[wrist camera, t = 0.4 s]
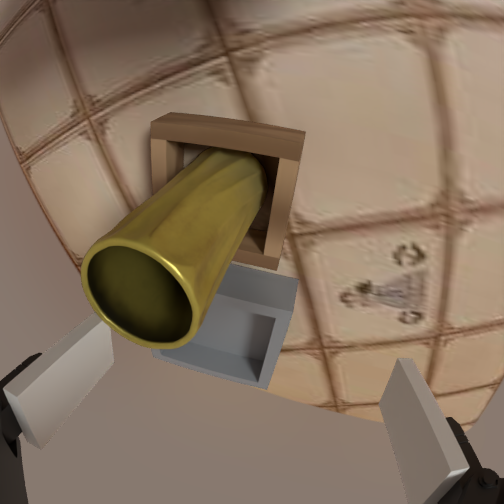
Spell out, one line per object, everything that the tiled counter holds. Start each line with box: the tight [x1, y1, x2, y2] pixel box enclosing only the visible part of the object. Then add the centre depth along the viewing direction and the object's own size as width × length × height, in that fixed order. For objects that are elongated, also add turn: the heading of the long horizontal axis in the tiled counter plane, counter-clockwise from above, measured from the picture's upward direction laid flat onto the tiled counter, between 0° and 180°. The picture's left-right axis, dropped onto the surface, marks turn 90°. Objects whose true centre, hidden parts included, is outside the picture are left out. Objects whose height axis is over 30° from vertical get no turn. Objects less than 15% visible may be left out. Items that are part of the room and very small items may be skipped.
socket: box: [151, 112, 306, 271], centre depth 22 cm, size 10×10×3 cm
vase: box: [81, 146, 268, 349], centre depth 17 cm, size 6×6×14 cm
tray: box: [151, 264, 298, 390], centre depth 31 cm, size 14×14×4 cm
